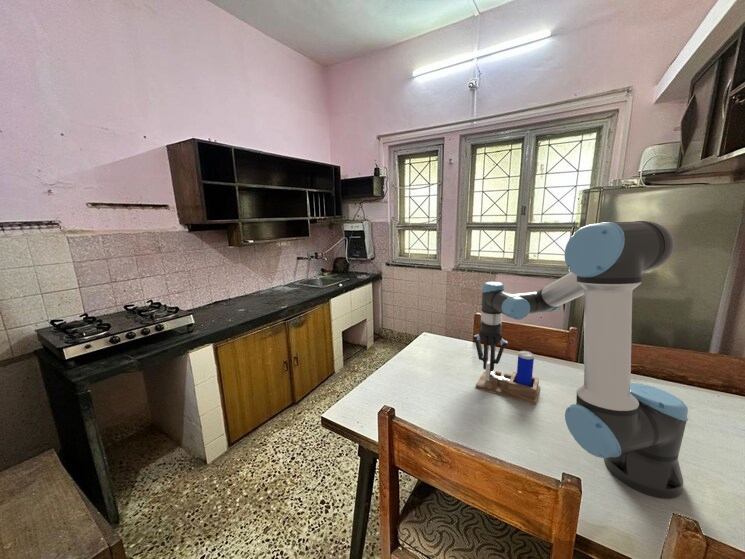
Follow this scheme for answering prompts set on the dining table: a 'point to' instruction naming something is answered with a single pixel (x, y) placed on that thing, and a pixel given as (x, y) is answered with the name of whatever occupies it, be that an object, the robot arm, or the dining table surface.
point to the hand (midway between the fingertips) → (488, 377)
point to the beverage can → (525, 368)
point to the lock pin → (496, 376)
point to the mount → (511, 387)
